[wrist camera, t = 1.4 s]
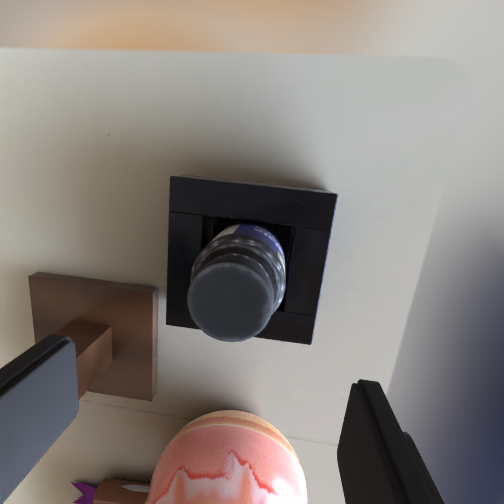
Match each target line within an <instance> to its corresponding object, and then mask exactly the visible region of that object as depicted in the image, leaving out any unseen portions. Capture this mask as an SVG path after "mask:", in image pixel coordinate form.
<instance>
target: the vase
mask: <svg viewBox="0 0 504 504" xmlns="http://www.w3.org/2000/svg"><path fill="white" fill-rule="evenodd" d="M147 504H307V493H306V484H305V478H304V475H303V471H302V467H301V464H300V462H299V459H298V457H297V455H296V453H295V451H294V449H293V448H292V446H291V445H290V443H289V442H288V441H287V439H286V438H285V437H284V436H283V434H282V433H281V432H280V431H279V430H278V429H277V428H275V427H274V426H273V425H272V424H270V423H269V422H267V421H266V420H264V419H262V418H261V417H259V416H256V415H254V414H251V413H248V412H244V411H238V410H220V411H214V412H211V413H208V414H205V415H202V416H200V417H198V418H196V419H194V420H192V421H191V422H189V423H188V424H187V425H185V426H184V427H183V428H181V429H180V430H179V431H178V432H177V433H176V435H175V436H174V437H173V438H172V439H171V440H170V442H169V443H168V445H167V446H166V448H165V449H164V451H163V453H162V454H161V456H160V458H159V460H158V463H157V466H156V468H155V471H154V474H153V477H152V480H151V484H150V489H149V495H148V502H147Z"/></svg>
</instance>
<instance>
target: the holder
mask: <svg viewBox="0 0 504 504" xmlns="http://www.w3.org/2000/svg"><path fill="white" fill-rule="evenodd" d="M337 197H338V194H336V193H334V192H331V191H328V190H319V189H310V188H301V187H292V186H282V185H273V184H264V183H255V182H246V181H236V180H227V179H218V178H209V177H199V176H190V175H178V176H170V197H169V211H170V212H169V229H168V266H167V305H166V325H171V326H178V327H186V328H193V329H200V328H199V327H198V326H197V325H196V324H195V322H194V321H193V319H192V318H191V315H190V312H189V310H188V304H187V294H188V289H189V287H190V284H191V272H192V267H193V264H194V262H195V260H196V258H197V256H198V255H199V253H200V252H201V251H202V250H203V249H204V248H205V247H206V246H207V245H208V244H209V243H210V242H211V241H212V237H213V222H214V217H220V218H229V219H238V220H246V221H255V222H263V223H272V224H281V225H289V226H292V230H291V238H290V245H289V252H288V259H287V266H286V273H285V280H286V281H285V284H286V285H285V291H284V296H283V299H282V301H281V303H280V305H279V306H278V308H277V309H276V311H275V312H274V313H273V314H272V315H271V317H270V319H269V321H268V323H267V325H266V326H265V327H264V329H263V330H262V331H261V332H259V333H258V334H257V335H256V336H254V337H258V338H265V339H272V340H279V341H286V342H294V343H301V344H308V345H311V344H312V339H313V334H314V328H315V322H316V317H317V316H316V315H317V311H318V305H319V300H320V294H321V288H322V283H323V277H324V271H325V266H326V260H327V254H328V249H329V243H330V237H331V232H332V231H331V230H332V226H333V220H334V214H335V209H336V203H337ZM200 330H201V329H200Z"/></svg>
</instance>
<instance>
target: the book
mask: <svg viewBox="0 0 504 504" xmlns="http://www.w3.org/2000/svg"><path fill="white" fill-rule="evenodd" d="M70 483H72V484H73V485H74V486H75V487H76V488H77V489H78V490H79V491H81V492H82V493H83V494H84V495H83V496H82V497H80V498H79V499H77V500H76V501H74V502H73V503H76V504H147V502H148V495H149V489H150V484H151V483H143V482H135V481H127V480H119V479H110V478H105V479H103V480H102V481H101V482H100V484H99V485H98V487H97V489H95V488H94V487H92V486H90V485H87V484H85V483H73V482H70Z"/></svg>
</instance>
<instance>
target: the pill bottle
mask: <svg viewBox="0 0 504 504" xmlns="http://www.w3.org/2000/svg"><path fill="white" fill-rule="evenodd" d="M285 281H286V280H285V251H284V245H283V242H282V240H281V237H280V236H279V234H278V233H277V232H276V230H275V229H273V228H272V227H271V226H270V225H268V224H267V223H263V222H255V221H246V220H238V221H235V222H233V223H232V224H230V225H228V226H227V227H226V228H225V229H223V231H222V232H221V233H220V234H218V235H217V236H216V237H215V238H214V239H213V240H212V241H211V242H210V243H209V244H208V245H207V246H206V247H205V248H204V249H203V250H202V251H201V252H200V253H199V255H198V256H197V258H196V260H195V262H194V264H193V267H192V272H191V284H190V287H189V289H188V294H187V304H188V310H189V312H190V315H191V318H192V319H193V321H194V322H195V324H196V325H197V326H198V327H199V328H200V329H201V330H202V331H203V332H204V333H206V334H207V335H209V336H211V337H213V338H215V339H218V340H220V341H226V342H240V341H244V340H247V339H249V338H252V337H254V336H256V335H257V334H258V333H259V332H261V331H262V330H263V329H264V327H265V326H266V325H267V323H268V321H269V319H270V317H271V315H272V314H273V313H274V312H275V311H276V309H277V308H278V306H279V305H280V303H281V301H282V299H283V296H284V291H285V285H286V284H285Z"/></svg>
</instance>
